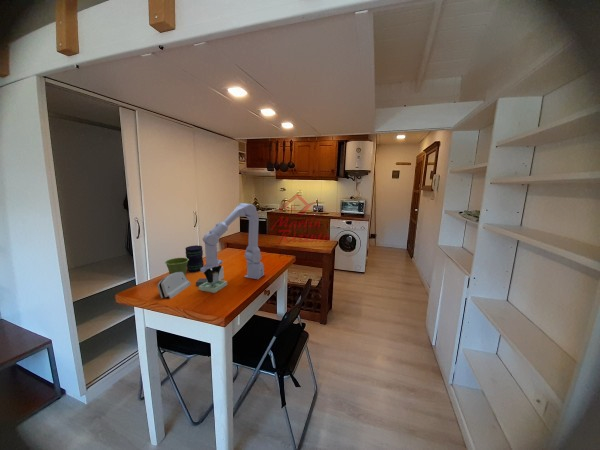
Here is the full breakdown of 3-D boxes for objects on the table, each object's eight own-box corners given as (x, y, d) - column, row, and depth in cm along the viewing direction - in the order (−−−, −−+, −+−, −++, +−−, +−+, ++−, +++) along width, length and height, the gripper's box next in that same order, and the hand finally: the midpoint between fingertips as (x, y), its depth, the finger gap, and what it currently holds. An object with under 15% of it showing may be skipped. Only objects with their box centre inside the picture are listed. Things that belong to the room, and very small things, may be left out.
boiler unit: (224, 278, 131) (223, 266, 129) (217, 282, 125) (216, 270, 124) (212, 276, 133) (211, 265, 132) (205, 280, 127) (204, 268, 126)
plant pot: (174, 285, 120) (173, 265, 119) (162, 280, 126) (160, 261, 124) (194, 277, 131) (193, 259, 129) (182, 273, 136) (180, 256, 134)
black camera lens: (206, 267, 148) (205, 245, 145) (199, 272, 138) (198, 249, 136) (191, 267, 148) (190, 245, 145) (183, 272, 138) (182, 249, 136)
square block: (208, 282, 125) (208, 278, 125) (205, 286, 120) (205, 282, 120) (199, 282, 125) (199, 278, 124) (196, 286, 120) (195, 282, 120)
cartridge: (218, 282, 119) (218, 271, 118) (213, 285, 116) (212, 274, 114) (212, 281, 121) (211, 270, 119) (207, 284, 117) (206, 273, 116)
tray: (227, 284, 121) (227, 281, 121) (214, 293, 112) (214, 289, 112) (212, 282, 125) (211, 278, 124) (198, 290, 115) (198, 286, 115)
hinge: (170, 299, 106) (161, 280, 105) (162, 301, 107) (153, 282, 105) (191, 284, 122) (184, 267, 121) (184, 286, 123) (177, 269, 122)
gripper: (207, 261, 107) (209, 287, 110) (226, 252, 121) (227, 276, 123) (196, 259, 110) (198, 285, 112) (216, 251, 123) (217, 274, 125)
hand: (212, 280), depth 118 cm, fingers closed on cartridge, 4 cm apart
